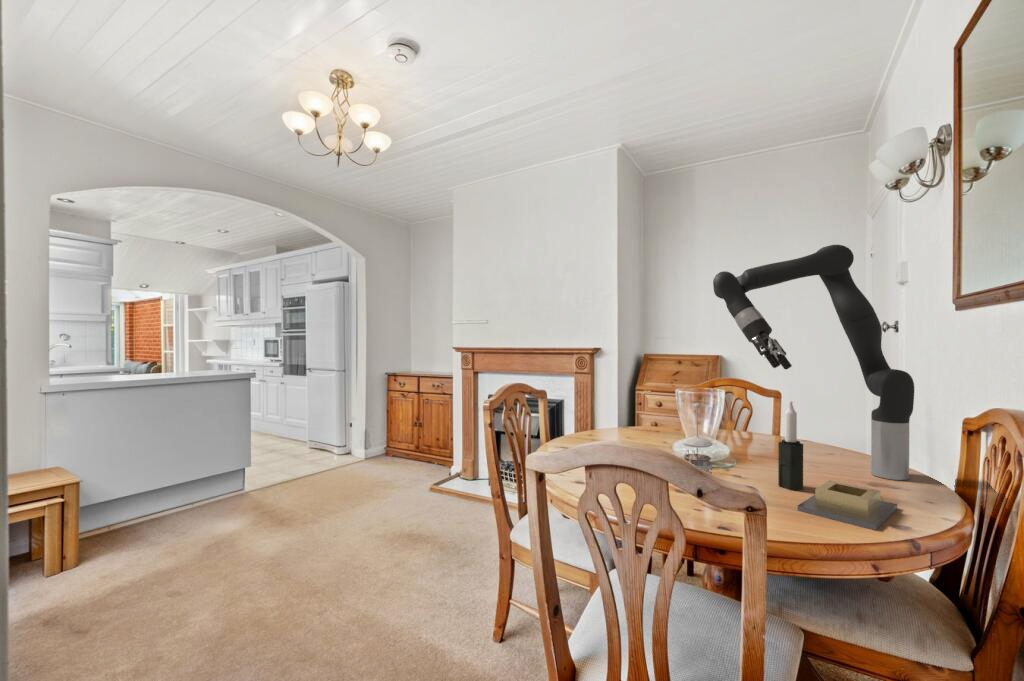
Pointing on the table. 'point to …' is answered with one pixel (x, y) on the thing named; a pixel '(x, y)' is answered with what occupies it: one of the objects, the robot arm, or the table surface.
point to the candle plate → (850, 516)
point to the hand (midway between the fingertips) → (783, 367)
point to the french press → (697, 459)
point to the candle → (790, 454)
